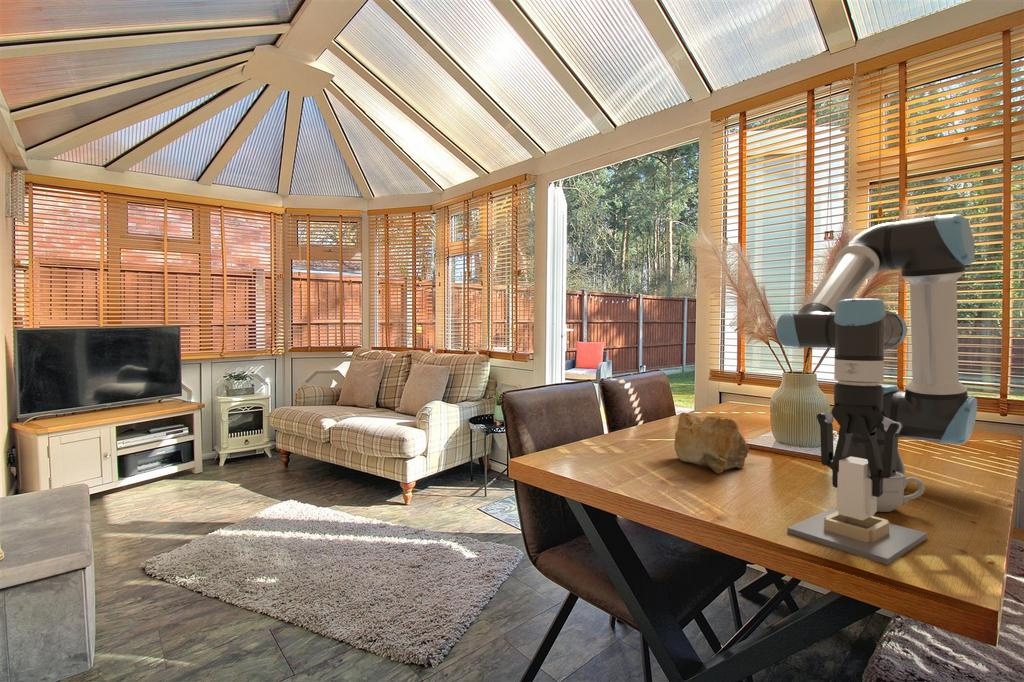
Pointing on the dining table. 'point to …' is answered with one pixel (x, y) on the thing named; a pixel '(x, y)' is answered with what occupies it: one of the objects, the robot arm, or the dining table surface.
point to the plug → (853, 487)
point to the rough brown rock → (710, 442)
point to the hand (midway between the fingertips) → (856, 508)
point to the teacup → (897, 492)
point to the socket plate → (859, 535)
